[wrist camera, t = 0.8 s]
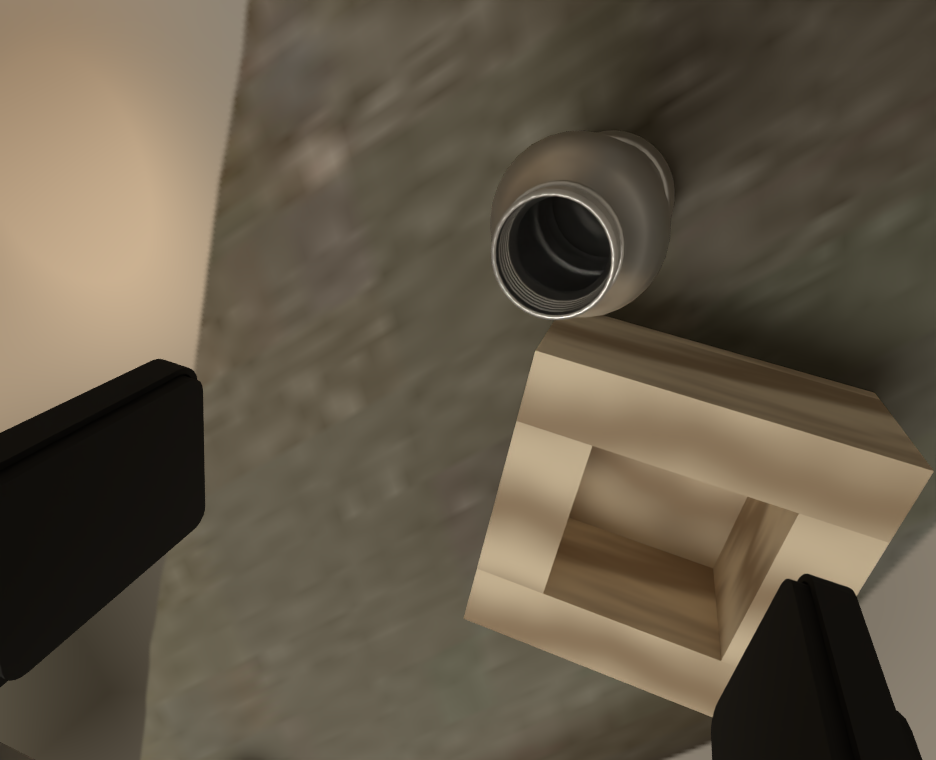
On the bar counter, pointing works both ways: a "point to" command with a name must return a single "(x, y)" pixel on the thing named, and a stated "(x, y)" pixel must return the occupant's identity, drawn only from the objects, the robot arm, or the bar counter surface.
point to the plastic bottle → (581, 223)
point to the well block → (679, 502)
